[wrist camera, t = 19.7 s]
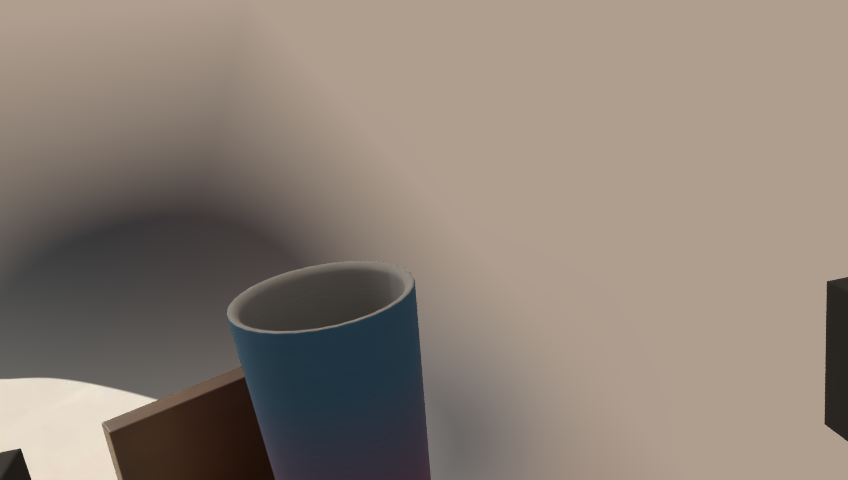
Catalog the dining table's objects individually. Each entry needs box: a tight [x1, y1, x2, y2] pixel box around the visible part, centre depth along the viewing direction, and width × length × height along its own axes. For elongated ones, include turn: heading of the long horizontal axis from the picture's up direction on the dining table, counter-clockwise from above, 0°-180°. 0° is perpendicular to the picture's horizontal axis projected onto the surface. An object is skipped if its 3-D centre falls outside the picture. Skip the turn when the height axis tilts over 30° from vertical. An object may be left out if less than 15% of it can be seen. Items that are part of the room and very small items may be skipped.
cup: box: [227, 261, 431, 480], centre depth 30 cm, size 7×7×15 cm
